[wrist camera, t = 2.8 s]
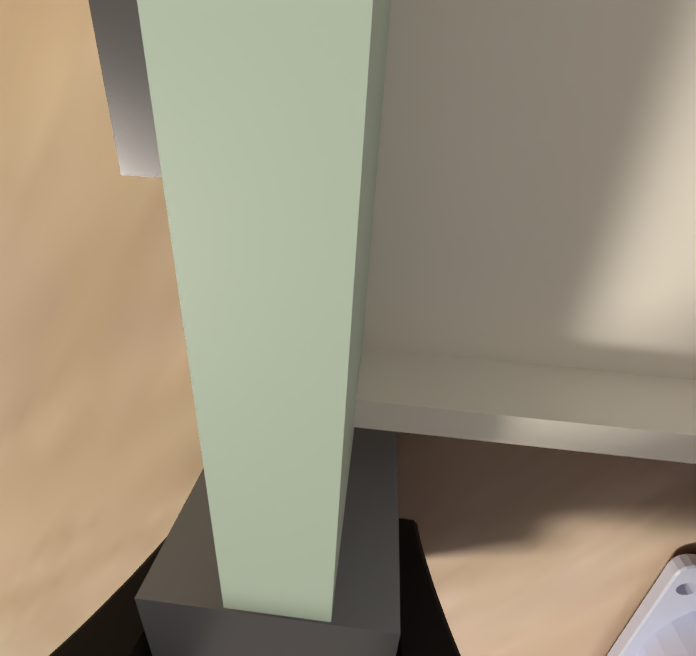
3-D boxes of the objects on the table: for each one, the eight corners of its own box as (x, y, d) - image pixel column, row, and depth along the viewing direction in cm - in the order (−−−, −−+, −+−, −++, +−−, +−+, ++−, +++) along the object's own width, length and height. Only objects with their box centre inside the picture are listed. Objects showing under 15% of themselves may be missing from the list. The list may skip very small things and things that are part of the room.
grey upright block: (399, 414, 10) (403, 635, 6) (377, 562, 13) (370, 788, 9) (239, 397, 11) (131, 597, 6) (251, 546, 13) (182, 758, 9)
